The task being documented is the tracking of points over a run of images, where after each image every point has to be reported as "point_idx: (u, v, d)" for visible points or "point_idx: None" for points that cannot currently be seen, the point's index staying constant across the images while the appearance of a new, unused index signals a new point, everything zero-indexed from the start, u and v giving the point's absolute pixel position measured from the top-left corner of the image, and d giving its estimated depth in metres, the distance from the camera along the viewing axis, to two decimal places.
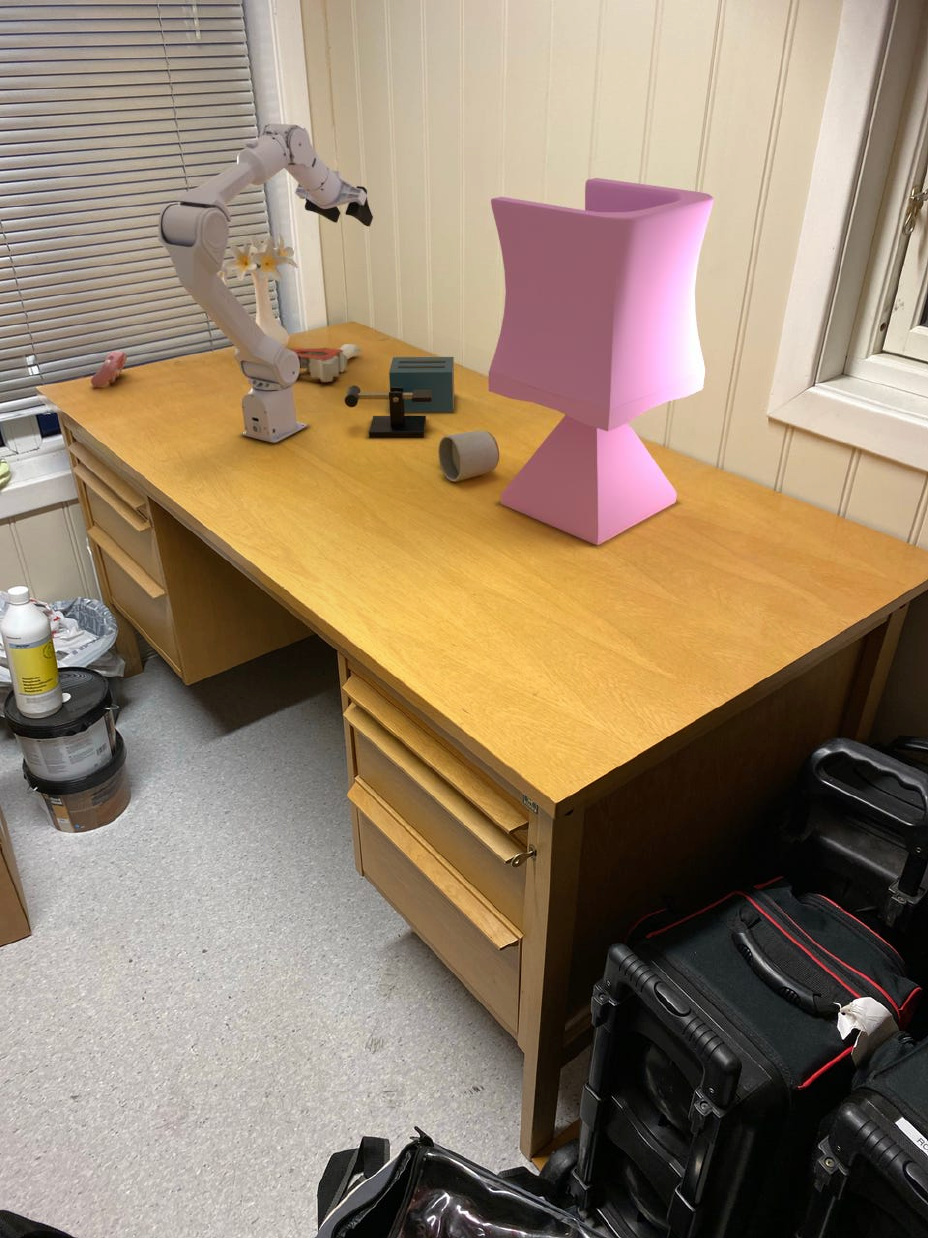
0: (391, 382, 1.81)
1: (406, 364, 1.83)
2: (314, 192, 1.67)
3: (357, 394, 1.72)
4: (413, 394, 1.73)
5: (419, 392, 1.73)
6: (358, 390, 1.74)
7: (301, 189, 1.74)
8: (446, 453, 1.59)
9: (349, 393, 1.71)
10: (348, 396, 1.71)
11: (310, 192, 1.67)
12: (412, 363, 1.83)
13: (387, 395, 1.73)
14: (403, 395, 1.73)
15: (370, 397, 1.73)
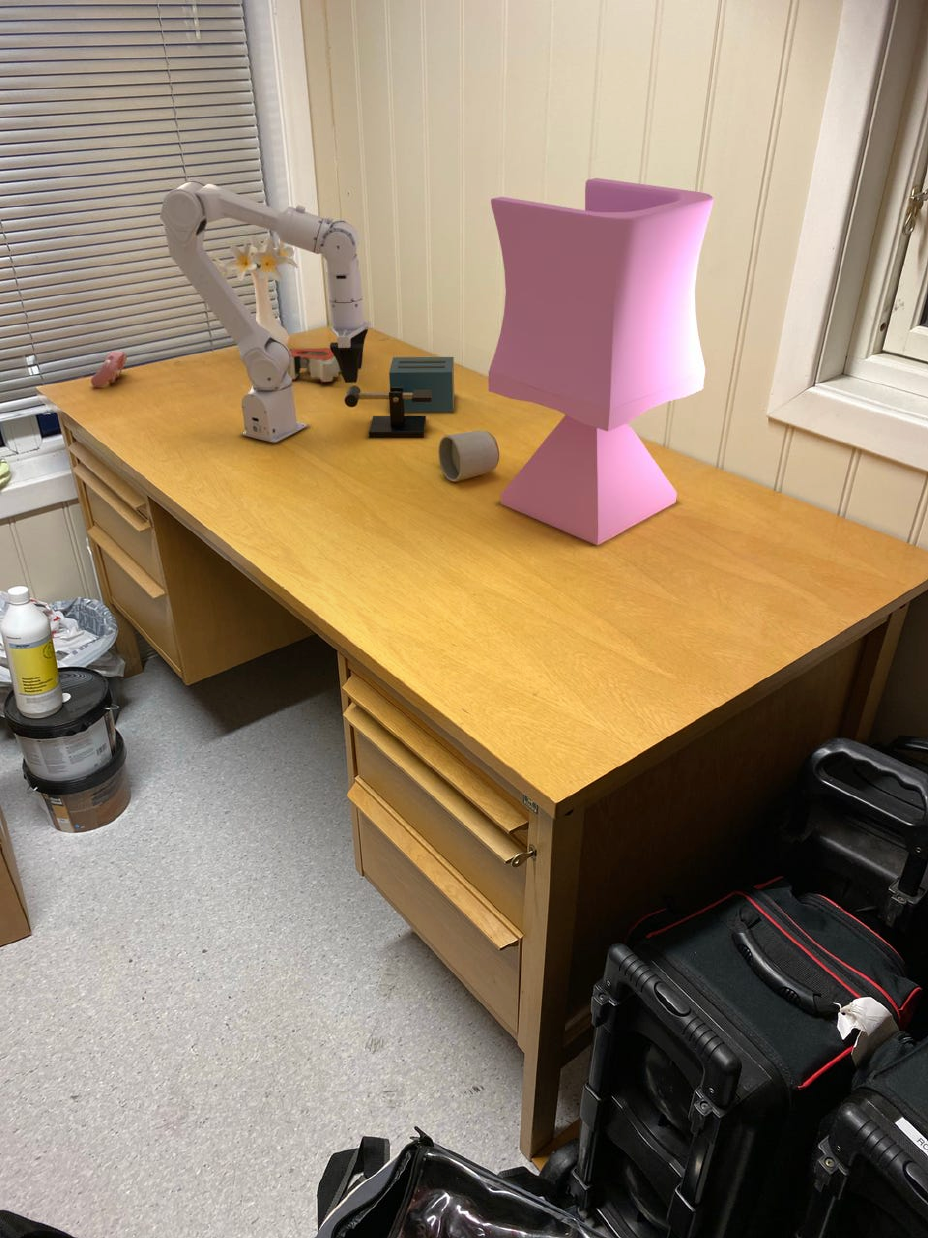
0: (391, 382, 1.81)
1: (406, 364, 1.83)
2: (329, 302, 1.64)
3: (357, 394, 1.72)
4: (413, 394, 1.73)
5: (419, 392, 1.73)
6: (358, 390, 1.74)
7: None
8: (446, 453, 1.59)
9: (349, 393, 1.71)
10: (348, 396, 1.71)
11: None
12: (412, 363, 1.83)
13: (387, 395, 1.73)
14: (403, 395, 1.73)
15: (370, 397, 1.73)
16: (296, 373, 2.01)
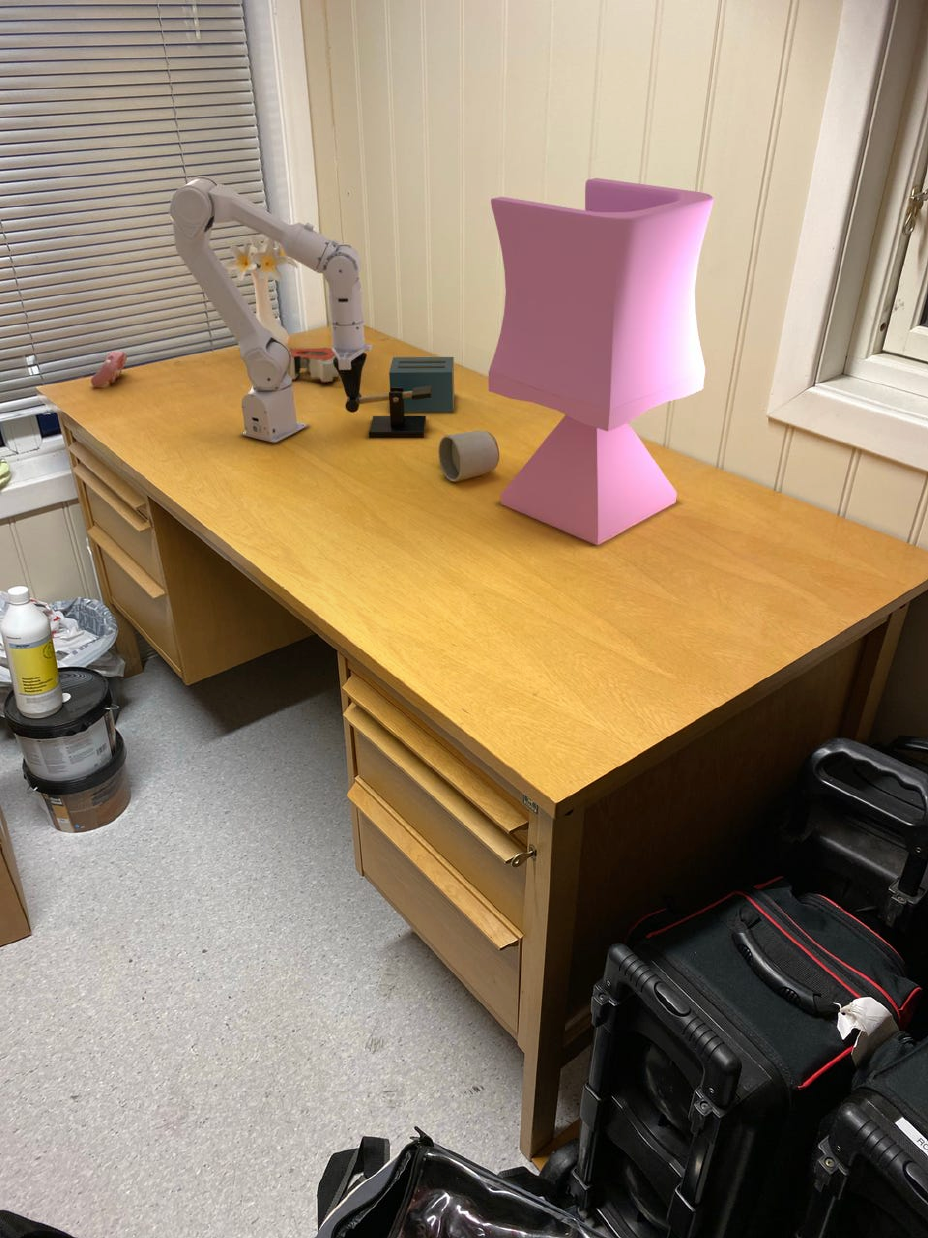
0: (391, 382, 1.81)
1: (406, 364, 1.83)
2: (331, 324, 1.66)
3: (357, 399, 1.73)
4: (412, 392, 1.72)
5: (418, 389, 1.73)
6: (359, 394, 1.75)
7: None
8: (446, 453, 1.59)
9: (349, 399, 1.72)
10: (348, 402, 1.72)
11: None
12: (412, 363, 1.83)
13: (387, 396, 1.73)
14: (403, 394, 1.73)
15: (370, 400, 1.73)
16: (296, 373, 2.01)
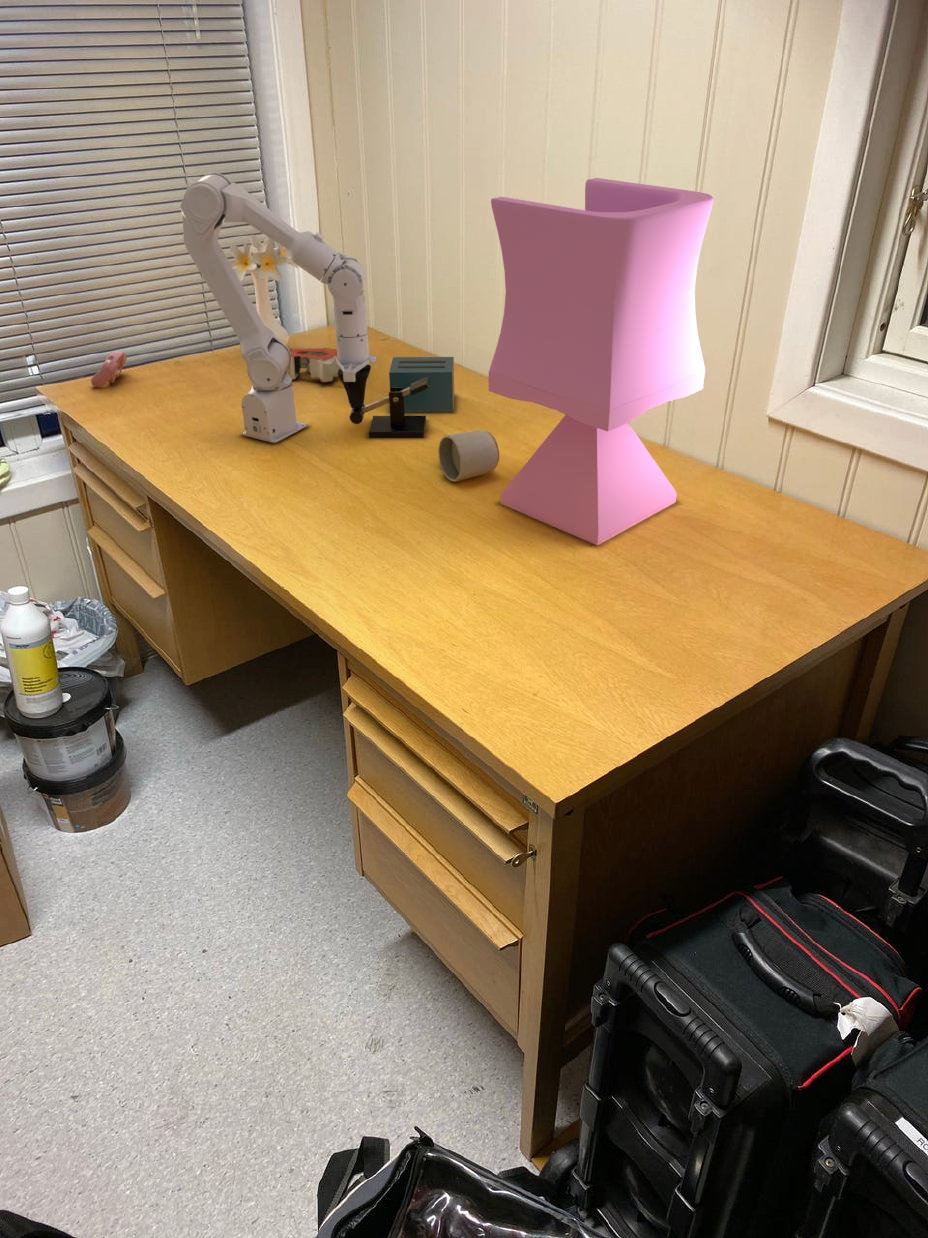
0: (391, 382, 1.81)
1: (406, 364, 1.83)
2: (335, 336, 1.67)
3: (360, 409, 1.74)
4: (410, 387, 1.72)
5: (416, 383, 1.73)
6: None
7: None
8: (446, 453, 1.59)
9: (352, 411, 1.73)
10: (351, 414, 1.73)
11: (335, 335, 1.67)
12: (412, 363, 1.83)
13: (387, 398, 1.73)
14: (402, 392, 1.72)
15: (373, 407, 1.74)
16: (296, 373, 2.01)
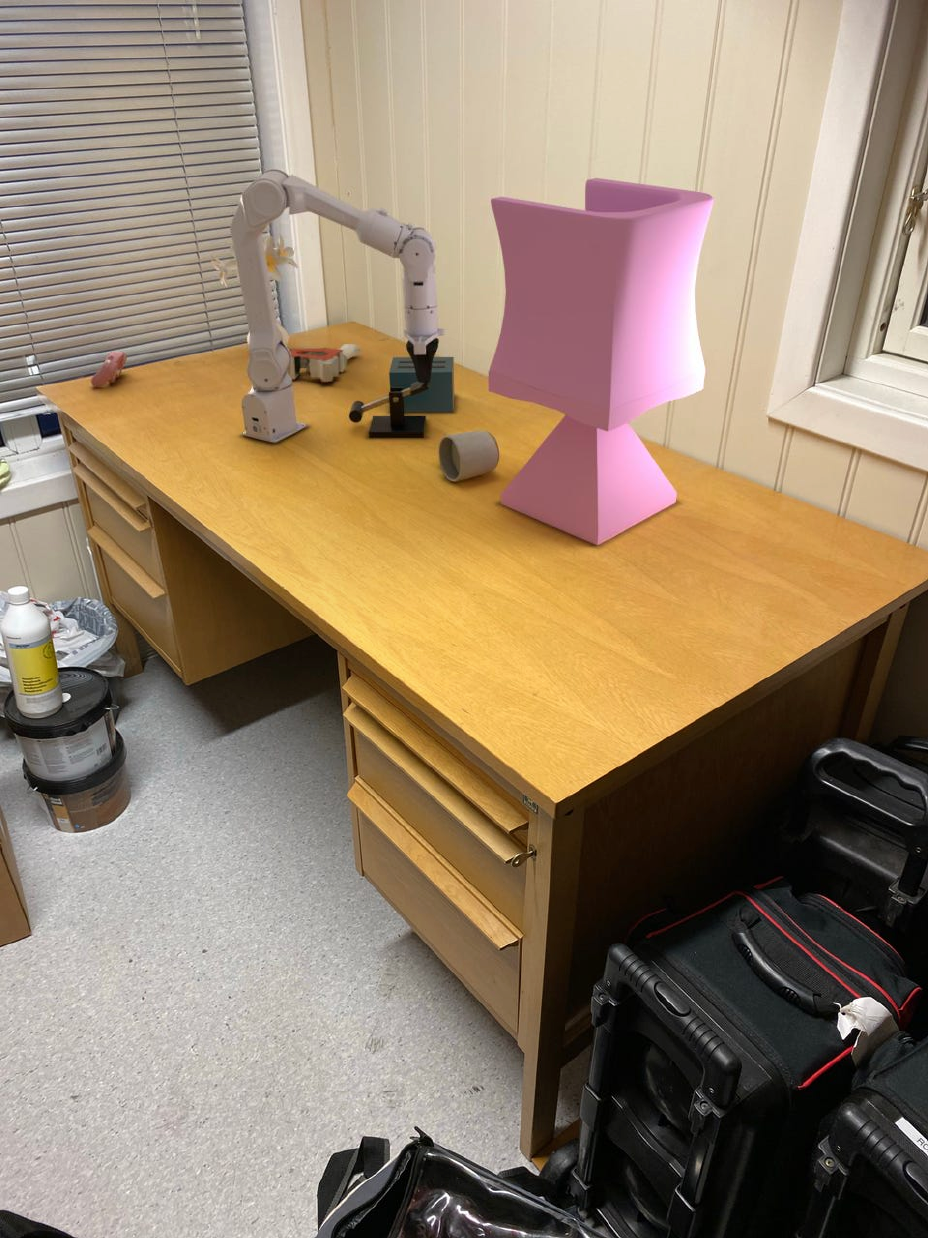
0: (391, 382, 1.81)
1: (406, 364, 1.83)
2: (404, 308, 1.64)
3: (360, 408, 1.74)
4: (411, 388, 1.72)
5: (416, 384, 1.73)
6: (361, 403, 1.76)
7: None
8: (446, 453, 1.59)
9: (351, 410, 1.73)
10: (351, 413, 1.73)
11: (404, 307, 1.65)
12: (412, 363, 1.83)
13: (387, 398, 1.73)
14: (402, 392, 1.72)
15: (373, 406, 1.74)
16: (296, 373, 2.01)
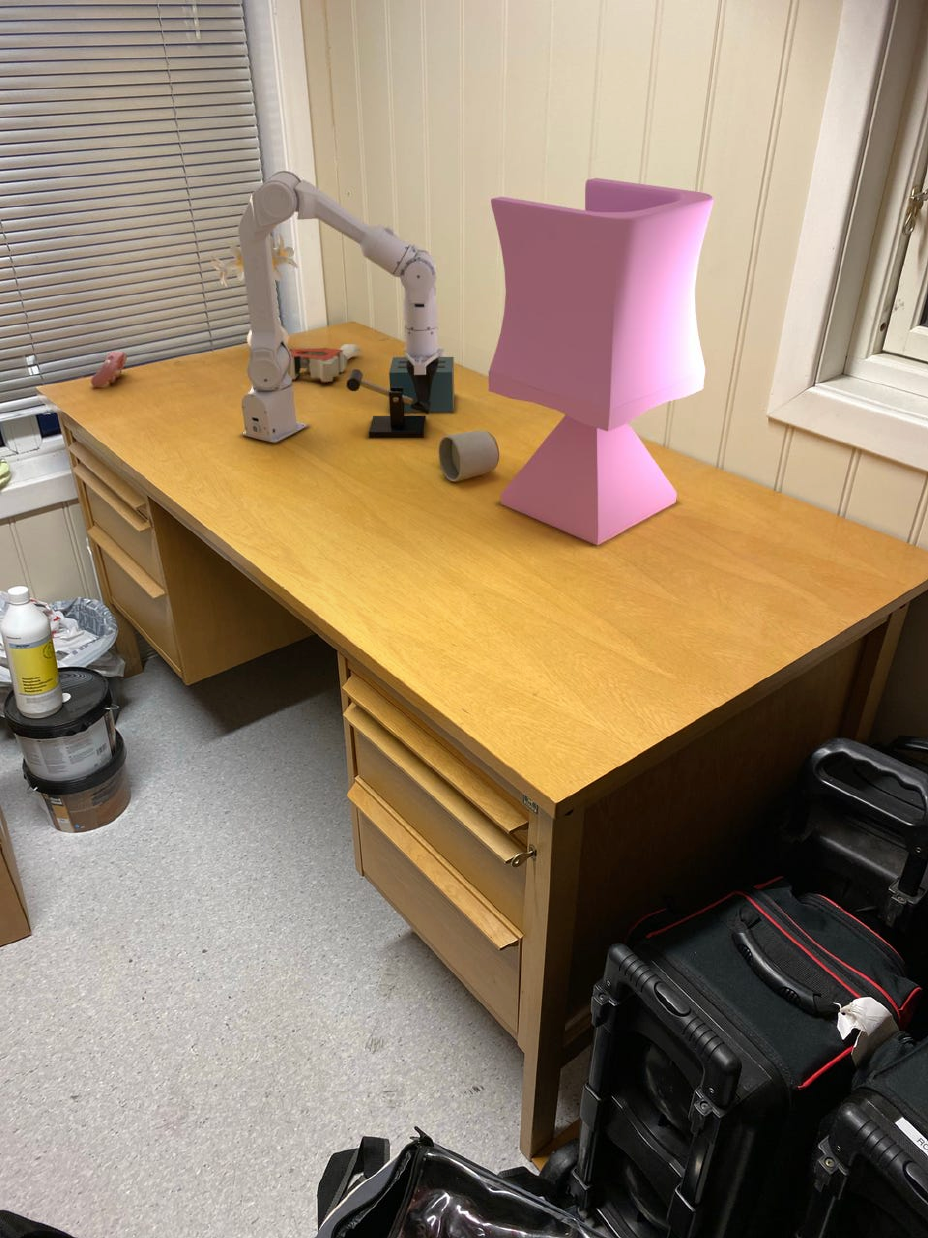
0: (391, 382, 1.81)
1: None
2: (405, 329, 1.66)
3: (360, 380, 1.71)
4: (413, 401, 1.73)
5: None
6: (362, 376, 1.73)
7: None
8: (446, 453, 1.59)
9: (353, 376, 1.70)
10: (352, 379, 1.69)
11: None
12: None
13: (388, 392, 1.72)
14: (403, 398, 1.73)
15: (371, 388, 1.72)
16: (296, 373, 2.01)
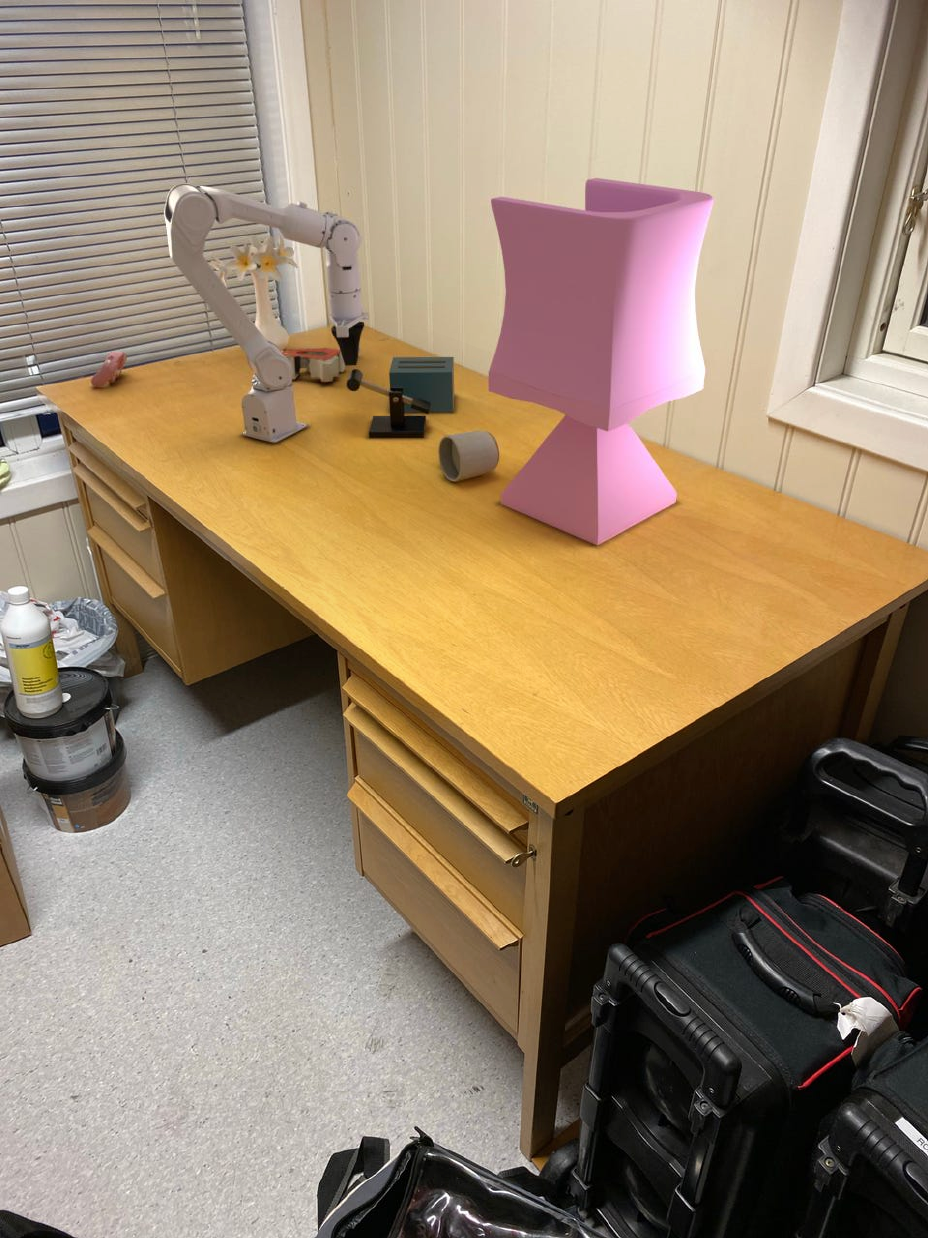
0: (391, 382, 1.81)
1: (406, 364, 1.83)
2: None
3: (360, 380, 1.71)
4: (413, 401, 1.73)
5: (419, 400, 1.74)
6: (362, 376, 1.73)
7: None
8: (446, 453, 1.59)
9: (353, 376, 1.70)
10: (352, 379, 1.69)
11: None
12: (412, 363, 1.83)
13: (388, 392, 1.72)
14: (403, 398, 1.73)
15: (371, 388, 1.72)
16: (296, 373, 2.01)
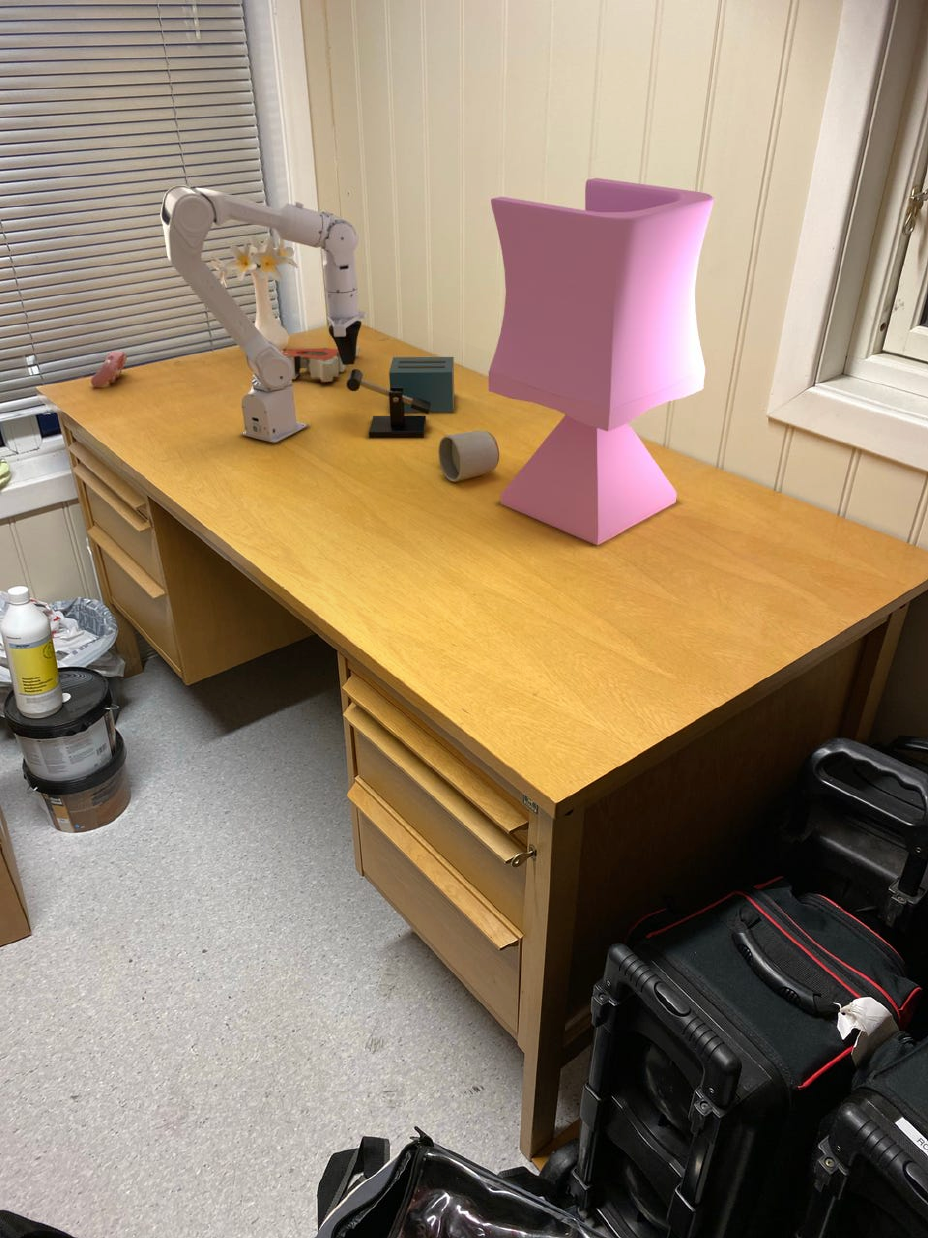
0: (391, 382, 1.81)
1: (406, 364, 1.83)
2: None
3: (360, 380, 1.71)
4: (413, 401, 1.73)
5: (419, 400, 1.74)
6: (362, 376, 1.73)
7: None
8: (446, 453, 1.59)
9: (353, 376, 1.70)
10: (352, 379, 1.69)
11: None
12: (412, 363, 1.83)
13: (388, 392, 1.72)
14: (403, 398, 1.73)
15: (371, 388, 1.72)
16: (296, 373, 2.01)
